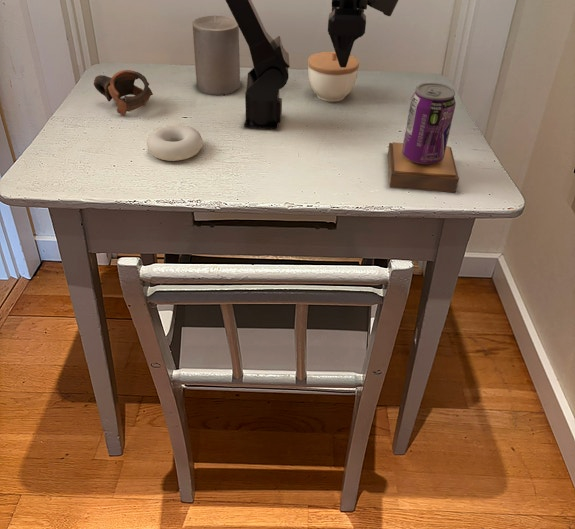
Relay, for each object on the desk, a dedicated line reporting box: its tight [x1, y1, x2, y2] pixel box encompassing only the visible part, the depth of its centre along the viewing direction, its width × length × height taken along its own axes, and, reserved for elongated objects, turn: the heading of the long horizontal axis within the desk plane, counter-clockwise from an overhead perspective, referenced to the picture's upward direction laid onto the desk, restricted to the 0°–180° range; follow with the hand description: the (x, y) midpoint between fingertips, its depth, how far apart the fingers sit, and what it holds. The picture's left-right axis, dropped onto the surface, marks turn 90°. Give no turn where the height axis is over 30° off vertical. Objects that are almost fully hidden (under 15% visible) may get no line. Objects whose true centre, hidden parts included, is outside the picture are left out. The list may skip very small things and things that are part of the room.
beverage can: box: [402, 82, 457, 164], centre depth 94 cm, size 7×7×12 cm
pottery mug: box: [93, 69, 154, 116], centre depth 115 cm, size 12×10×8 cm
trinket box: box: [307, 51, 360, 103], centre depth 121 cm, size 11×11×9 cm
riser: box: [386, 141, 460, 193], centre depth 98 cm, size 11×11×3 cm
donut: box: [146, 124, 204, 162], centre depth 102 cm, size 10×4×10 cm
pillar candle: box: [192, 15, 241, 96], centre depth 121 cm, size 10×10×15 cm
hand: (343, 58), depth 105 cm, fingers open, 9 cm apart
